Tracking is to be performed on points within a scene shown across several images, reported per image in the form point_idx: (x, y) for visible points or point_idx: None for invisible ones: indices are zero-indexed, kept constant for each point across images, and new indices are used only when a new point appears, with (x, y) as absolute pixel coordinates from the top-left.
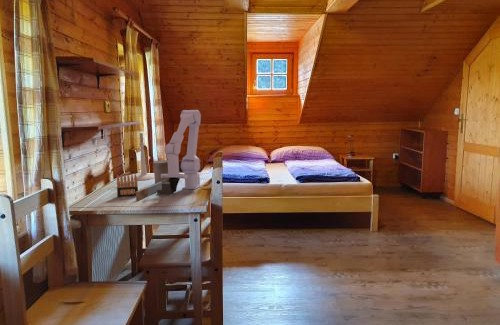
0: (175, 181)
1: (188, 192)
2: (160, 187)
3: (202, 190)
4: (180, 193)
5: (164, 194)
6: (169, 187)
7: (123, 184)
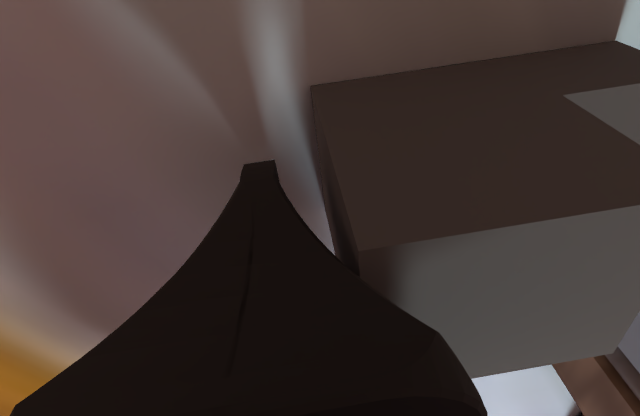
0: (40, 392)
1: None
2: None
3: None
4: None
5: (450, 65)
6: (357, 167)
7: None
